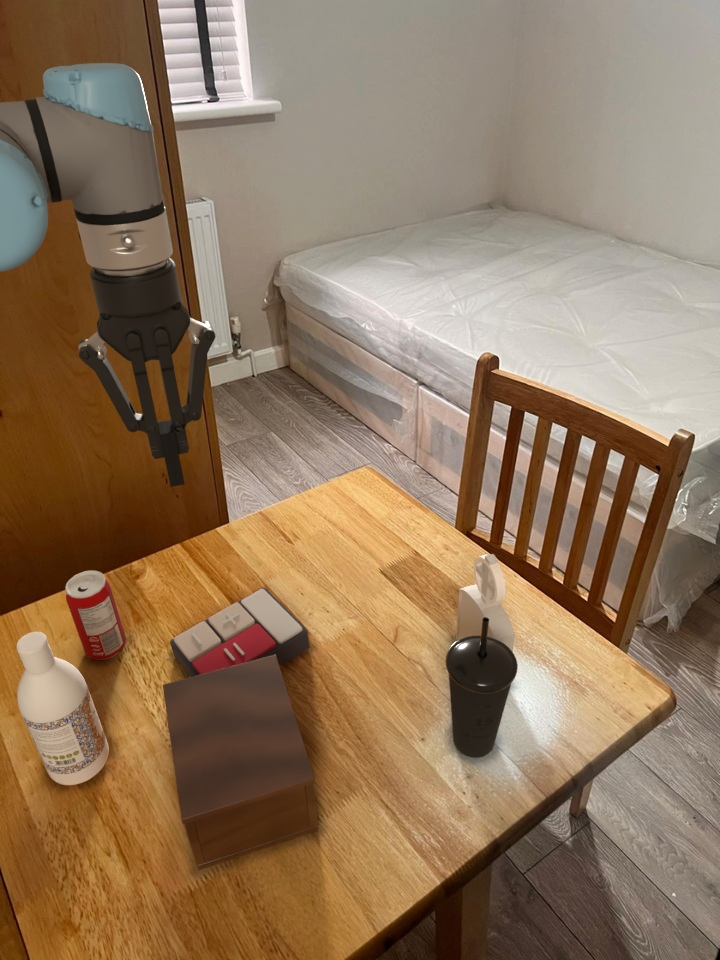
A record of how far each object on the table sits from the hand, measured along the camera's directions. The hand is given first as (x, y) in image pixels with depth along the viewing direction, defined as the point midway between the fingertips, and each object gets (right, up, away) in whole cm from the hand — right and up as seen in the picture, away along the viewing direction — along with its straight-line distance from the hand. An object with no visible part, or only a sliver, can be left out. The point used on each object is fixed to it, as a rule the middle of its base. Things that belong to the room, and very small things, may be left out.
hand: (176, 478), depth 79 cm
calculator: (+4, -24, +20) cm, 31 cm away
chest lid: (+7, -27, -3) cm, 28 cm away
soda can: (-15, -23, +21) cm, 35 cm away
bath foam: (-13, -33, +7) cm, 36 cm away
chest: (+7, -35, +3) cm, 35 cm away
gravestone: (+36, -24, +17) cm, 47 cm away
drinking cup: (+33, -31, +8) cm, 46 cm away
